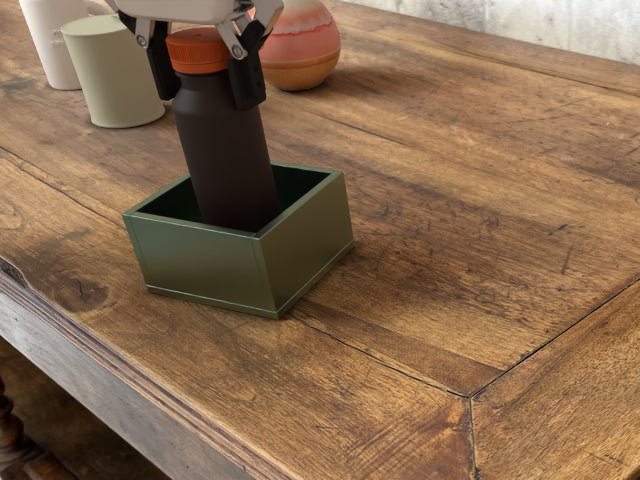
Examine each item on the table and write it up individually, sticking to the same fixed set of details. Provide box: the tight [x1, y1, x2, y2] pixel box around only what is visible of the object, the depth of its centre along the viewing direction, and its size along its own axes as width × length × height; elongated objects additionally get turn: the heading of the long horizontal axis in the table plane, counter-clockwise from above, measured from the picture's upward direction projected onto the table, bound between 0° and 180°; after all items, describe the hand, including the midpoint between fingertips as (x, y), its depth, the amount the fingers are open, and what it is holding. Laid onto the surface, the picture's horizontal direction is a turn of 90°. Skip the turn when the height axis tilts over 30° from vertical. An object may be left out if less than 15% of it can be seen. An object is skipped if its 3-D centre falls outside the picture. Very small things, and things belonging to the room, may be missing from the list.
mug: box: [18, 0, 113, 91], centre depth 115 cm, size 8×12×12 cm
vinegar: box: [166, 26, 281, 233], centre depth 68 cm, size 7×7×20 cm
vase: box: [239, 0, 342, 92], centre depth 110 cm, size 14×14×18 cm
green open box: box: [121, 159, 356, 321], centre depth 72 cm, size 14×14×8 cm
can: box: [61, 14, 166, 129], centre depth 102 cm, size 9×9×12 cm
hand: (213, 98), depth 65 cm, fingers closed on vinegar, 6 cm apart
